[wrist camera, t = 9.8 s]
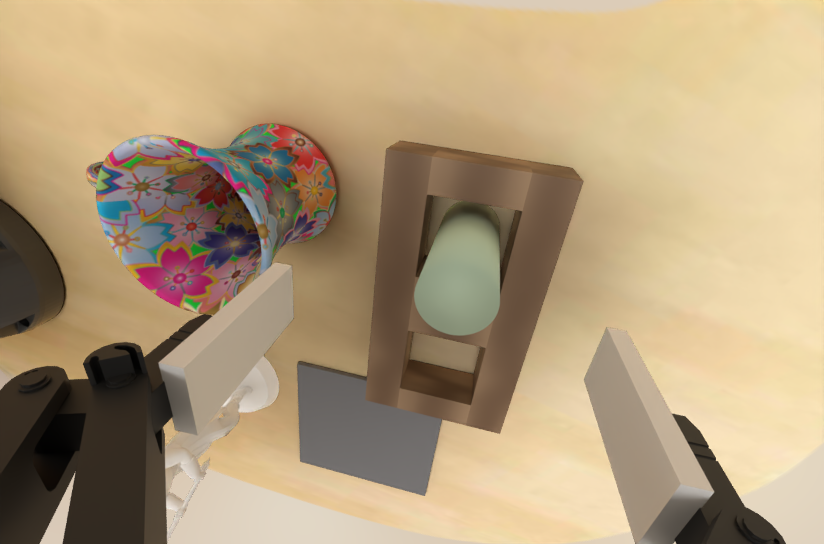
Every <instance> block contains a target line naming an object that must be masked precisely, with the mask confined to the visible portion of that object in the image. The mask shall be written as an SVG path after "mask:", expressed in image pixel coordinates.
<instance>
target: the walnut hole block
mask: <svg viewBox="0 0 824 544" xmlns="http://www.w3.org/2000/svg"><path fill="white" fill-rule="evenodd" d="M582 184H583V180H582V179H581V178H580V176H579V175H578V174H577V173H576V172H575V170H574V169H573V168H569V167H563V166H556V165H550V164H544V163H538V162H531V161H525V160H519V159H512V158H506V157H500V156H493V155H487V154H481V153H475V152H468V151H462V150H456V149H449V148H443V147H437V146H431V145H424V144H418V143H412V142H405V141H399V142H397V143H395V144H394V145H392V146H390V147H389V148H387V149H386V157H385V169H384V181H383V193H382V205H381V217H380V229H379V241H378V253H377V265H376V277H375V289H374V301H373V313H372V325H371V337H370V349H369V360H368V372H367V384H366V396H365V400H367V401H371V402H375V403H379V404H383V405H387V406H391V407H395V408H399V409H403V410H407V411H411V412H415V413H419V414H423V415H427V416H431V417H435V418H439V419H443V420H447V421H451V422H455V423H459V424H463V425H467V426H471V427H475V428H479V429H483V430H487V431H491V432H495V433H499V434H500V432H501V429H502V426H503V423H504V420H505V417H506V414H507V411H508V408H509V405H510V401H511V398H512V395H513V392H514V389H515V386H516V383H517V380H518V377H519V374H520V371H521V368H522V365H523V362H524V359H525V356H526V353H527V350H528V347H529V344H530V341H531V338H532V335H533V332H534V329H535V326H536V323H537V320H538V317H539V314H540V311H541V308H542V305H543V302H544V299H545V296H546V293H547V290H548V287H549V284H550V281H551V278H552V275H553V272H554V269H555V266H556V263H557V260H558V257H559V253H560V250H561V247H562V244H563V241H564V238H565V235H566V232H567V229H568V226H569V223H570V220H571V217H572V214H573V211H574V208H575V205H576V202H577V199H578V196H579V193H580V190H581V187H582ZM433 196H439V197H444V198H450V199H456V200H461V201H467V202H473V203H479V204H484V205H490V206H496V207H501V208H507V209H513V210H516V211H515V215H514V219H513V223H512V227H511V231H510V235H509V239H508V243H507V247H506V250H505V254H504V258H503V262H502V266H501V270H500V306H499V310H498V313H497V315H496V317H495V319H494V320H493V321H492V322H491V323H490V324H489V325H488V326H487V327H486V328H484V329H483V330H481V331H479V332H476V333H473V334H469V335H450V334H446V333H443V332H440V331H438V330H436V329H434V328H433V327H431V326H430V325H429V324H428V323H426V322H425V320H424V319H423V318H422V317H421V315H420V314H419V312H418V310H417V308H416V305H415V299H414V292H415V287H416V284H417V282H418V279H419V277H420V274H421V272H422V269H423V267H424V264H425V262H426V260H427V257H428V256H425V250H426V243H427V236H428V229H429V223H430V216H431V209H432V202H433ZM413 332H417V333H421V334H426V335H430V336H435V337H439V338H444V339H448V340H453V341H457V342H462V343H466V344H471V345H475V346H480V347H481V348H480V352H479V356H478V360H477V363H476V367H475V371H474V374H469V373H465V372H461V371H457V370H452V369H448V368H444V367H439V366H435V365H431V364H426V363H422V362H418V361H413V360H409V358H410V351H411V344H412V337H413Z"/></svg>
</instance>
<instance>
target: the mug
mask: <svg viewBox="0 0 824 544" xmlns="http://www.w3.org/2000/svg"><path fill="white" fill-rule="evenodd" d="M86 175H87V179H88V181H89V183H90V184H91V185H92V186H94V187H95V188H96V200H97V208H98V213H99V217H100V221H101V224H102V227H103V229H104V232H105V234H106V236H107V239H108V241H109V243H110V244H111V246H112V248H113V250H114V251H115V253H116V254H117V256H118V257H119V259H120V260H121V262H122V263H123V264H124V265H125V267H126V268H127V269H128V270H129V271H130V272H131V274H132V275H133V276H134V277H135V278H136V279H137V280H138V281H139V282H141V283H142V284H143V285H144V286H145V287H146V288H148V289H149V290H150V291H152V292H153V293H154V294H156V295H157V296H159V297H160V298H162V299H164V300H165V301H167V302H169V303H171V304H173V305H175V306H177V307H180V308H182V309H185V310H188V311H191V312H195V313H200V314H208V315H215V314H216V313H217V312H218V311H219V310H220V309H222V308H223V307H224V306H225V305H226V304H227V303H229V302H230V301H231V300H232V299H233V298H234V297H236V296H237V295H238V294H239V293H240V292H241V291H243V290H244V289H245V288H246V287H247V286H248V285H250V284H251V283H252V282H253V281H254V280H255V279H257V278H258V277H259V276H260V275H261V274H262V273H264V272H265V271H266V270H267V269H268V268H269V267H271V263H272V260H273V258H274V256H275V255H276V253H277V252H278V250H279V249H280V248H281V247H282V246H283V245H285V244H286V243H300V242H304V241H307V240H310V239H312V238H314V237H316V236H317V235H319V234H320V233H321V232H322V231H323V230H324V229H325V228H326V226H327V225H328V224H329V222H330V220H331V218H332V216H333V213H334V210H335V205H336V186H335V180H334V177H333V174H332V171H331V168H330V166H329V164H328V162H327V161H326V159H325V157H324V156H323V154H322V153H321V152H320V150H319V149H318V148H317V147H316V146H315V145H314V144H313V143H312V142H311V141H310V140H309V139H308V138H306V137H305V136H304V135H302V134H301V133H299V132H297V131H295V130H293V129H291V128H288V127H285V126H281V125H277V124H260V125H256V126H253V127H250V128H248V129H246V130H245V131H243V132H242V133H240V134H239V135H238V136H237V137H236V138H235V139H234V141H233V142H232V143H231V145H230V147H227V148H223V149H208V148H203V147H200V146H197V145H195V144H192V143H190V142H187V141H184V140H181V139H178V138H174V137H170V136H163V135H146V136H140V137H135V138H132V139H130V140H127V141H125V142H123V143H122V144H120V145H119V146H117V147H116V148H115V149H114V150H112V152H111V153H110V154H109V155H108V156H107V158H106V159H105V161H104V162H98V163H94V164H92V165H90V166H89V167H88V168H87V172H86Z"/></svg>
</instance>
